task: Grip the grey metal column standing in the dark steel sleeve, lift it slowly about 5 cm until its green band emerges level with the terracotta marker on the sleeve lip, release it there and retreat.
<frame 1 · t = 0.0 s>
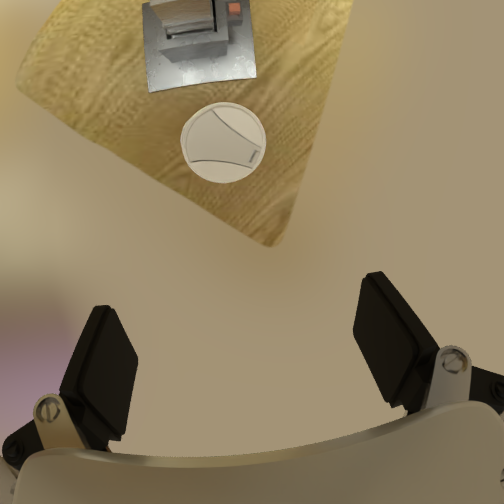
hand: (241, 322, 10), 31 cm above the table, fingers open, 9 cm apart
stand base: (197, 37, 28), on the table
paper cup: (222, 131, 35), on the table
column: (189, 14, 19), point 10 cm above the table, slide at 0.0 cm
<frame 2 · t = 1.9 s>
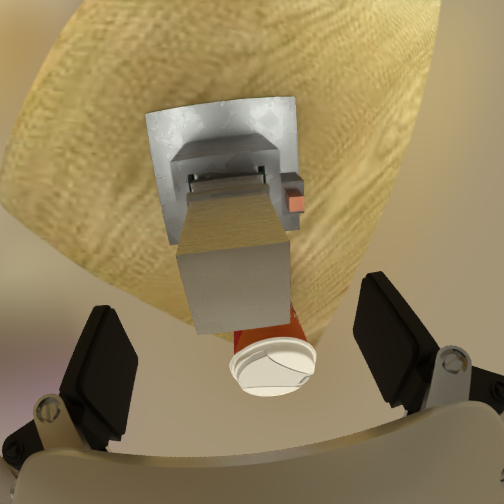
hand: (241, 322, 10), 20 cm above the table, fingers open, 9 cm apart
stand base: (226, 170, 27), on the table
paper cup: (256, 281, 35), on the table
column: (230, 207, 19), point 10 cm above the table, slide at 0.0 cm
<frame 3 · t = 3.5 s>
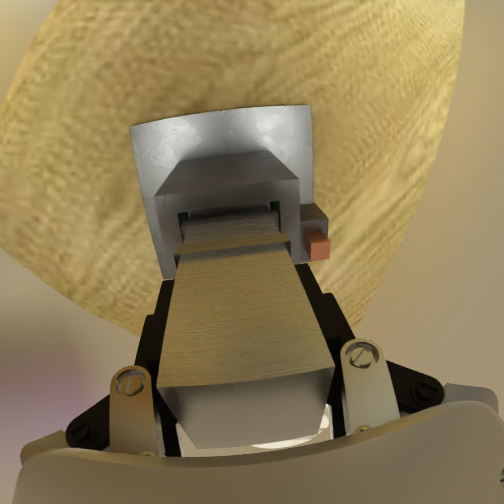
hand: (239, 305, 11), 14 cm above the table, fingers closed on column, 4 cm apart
stand base: (228, 193, 23), on the table
paper cup: (262, 315, 31), on the table
column: (234, 254, 14), point 10 cm above the table, slide at 0.0 cm, touching gripper
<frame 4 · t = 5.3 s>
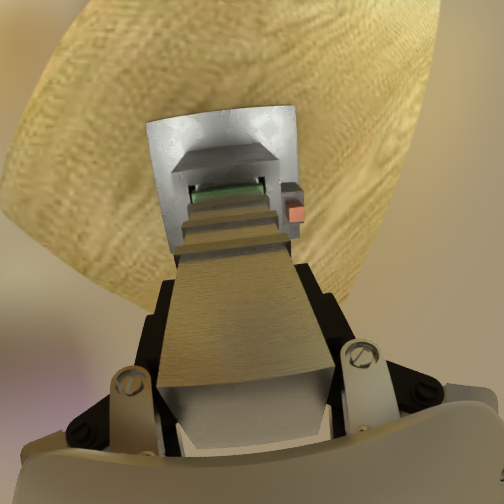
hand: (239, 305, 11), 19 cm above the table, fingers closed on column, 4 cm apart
stand base: (227, 179, 28), on the table
column: (234, 254, 14), point 15 cm above the table, slide at 4.9 cm, touching gripper
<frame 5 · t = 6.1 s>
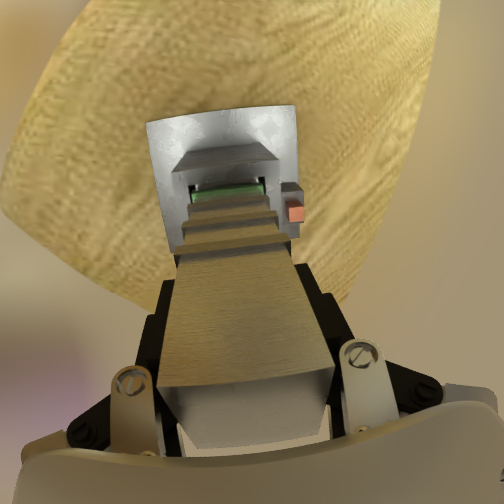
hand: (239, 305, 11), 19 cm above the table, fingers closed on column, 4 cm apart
stand base: (227, 179, 28), on the table
column: (234, 254, 14), point 15 cm above the table, slide at 5.0 cm, touching gripper
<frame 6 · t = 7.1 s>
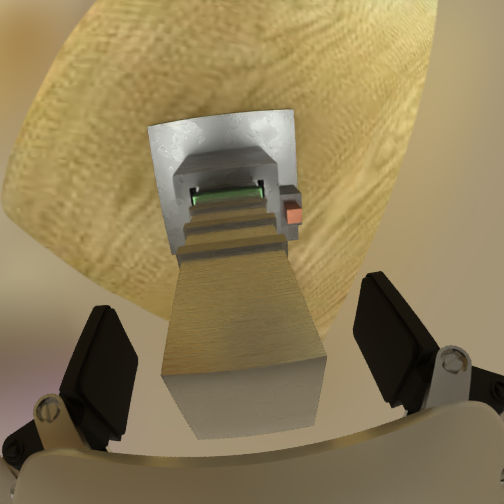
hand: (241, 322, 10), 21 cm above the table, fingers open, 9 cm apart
stand base: (227, 182, 28), on the table
column: (233, 255, 15), point 15 cm above the table, slide at 5.0 cm
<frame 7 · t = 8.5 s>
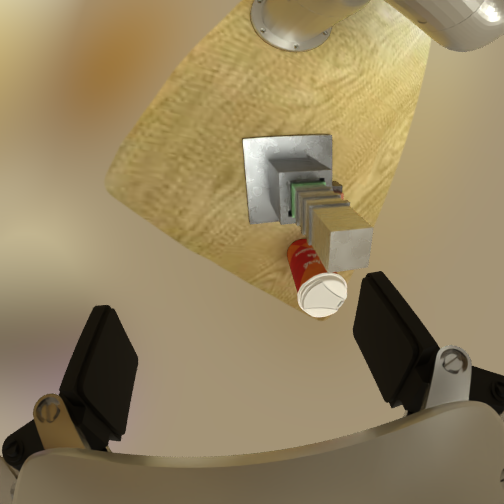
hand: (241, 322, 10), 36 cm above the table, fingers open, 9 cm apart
stand base: (289, 178, 45), on the table
paper cup: (301, 251, 52), on the table
column: (319, 212, 31), point 15 cm above the table, slide at 5.0 cm
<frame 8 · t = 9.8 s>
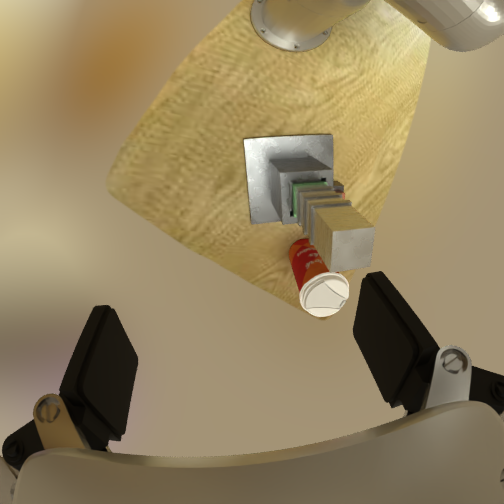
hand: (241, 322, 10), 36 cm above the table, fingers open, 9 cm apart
stand base: (290, 177, 45), on the table
paper cup: (302, 251, 52), on the table
column: (320, 211, 31), point 15 cm above the table, slide at 5.0 cm
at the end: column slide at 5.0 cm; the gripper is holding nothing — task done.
